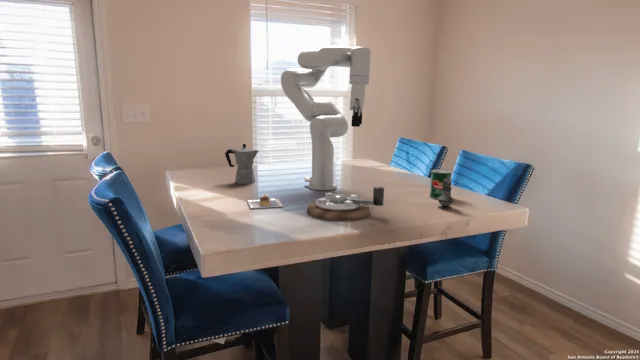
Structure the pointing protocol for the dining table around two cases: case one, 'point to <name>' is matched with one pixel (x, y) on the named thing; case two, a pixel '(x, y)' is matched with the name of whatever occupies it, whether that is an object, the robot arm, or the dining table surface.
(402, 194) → the dining table surface
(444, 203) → the gray candlestick
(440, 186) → the canned tomato
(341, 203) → the crank handle
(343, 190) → the dining table surface
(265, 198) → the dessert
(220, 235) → the dining table surface
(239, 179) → the coffeepot
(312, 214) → the base
